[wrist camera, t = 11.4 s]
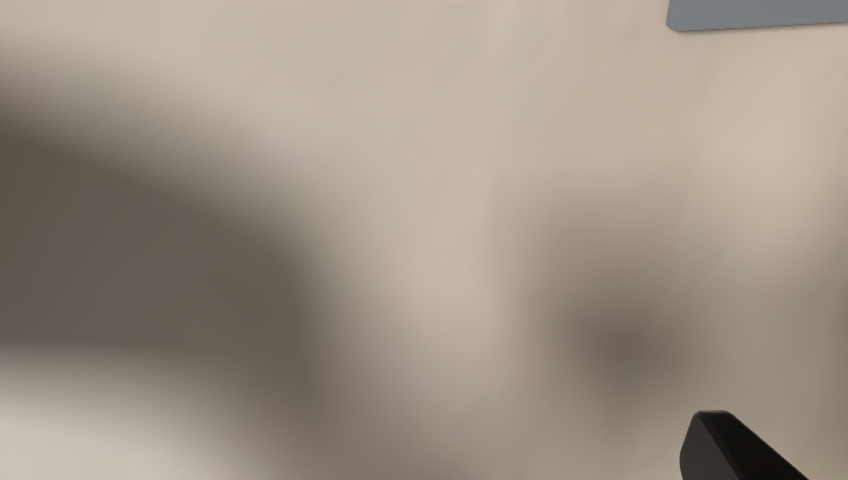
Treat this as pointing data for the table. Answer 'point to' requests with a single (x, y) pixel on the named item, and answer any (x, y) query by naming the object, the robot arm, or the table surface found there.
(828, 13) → the grey mat
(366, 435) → the table surface
